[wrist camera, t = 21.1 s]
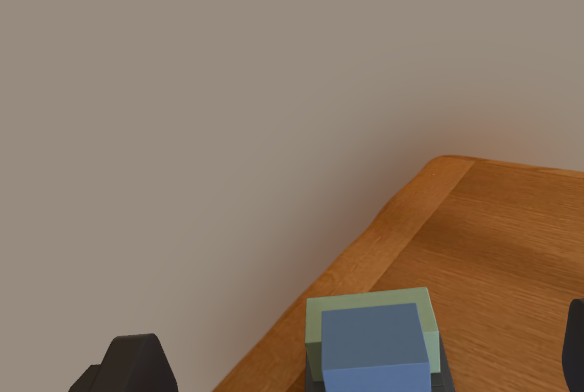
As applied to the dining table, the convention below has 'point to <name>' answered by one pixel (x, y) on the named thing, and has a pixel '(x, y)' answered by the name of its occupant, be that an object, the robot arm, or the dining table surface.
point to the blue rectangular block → (374, 350)
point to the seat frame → (439, 366)
